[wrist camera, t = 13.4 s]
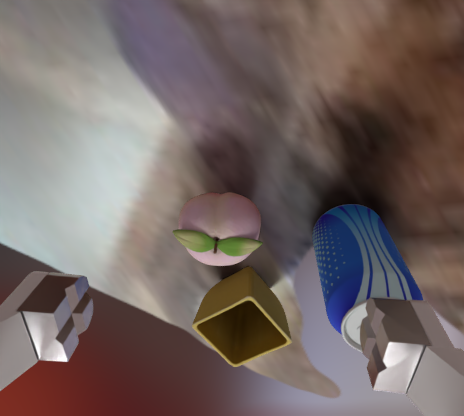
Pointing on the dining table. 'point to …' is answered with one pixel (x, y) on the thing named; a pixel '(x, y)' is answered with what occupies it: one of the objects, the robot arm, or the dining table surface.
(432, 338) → the robot arm
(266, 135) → the dining table surface
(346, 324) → the beer can
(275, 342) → the flower pot
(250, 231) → the decorative fruit
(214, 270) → the dining table surface
